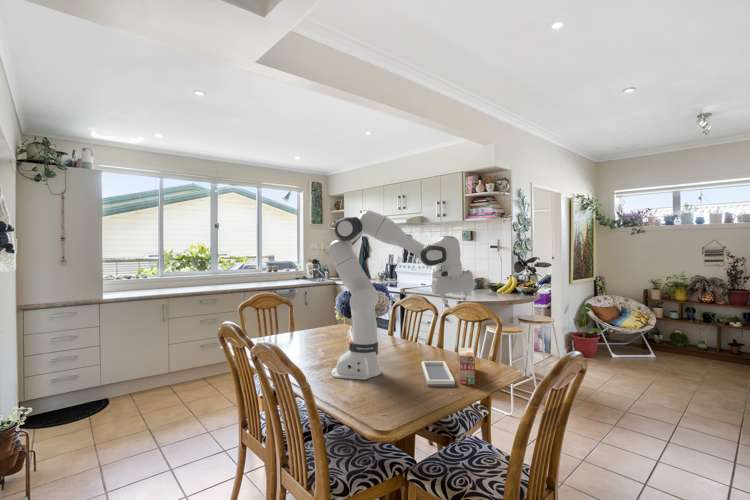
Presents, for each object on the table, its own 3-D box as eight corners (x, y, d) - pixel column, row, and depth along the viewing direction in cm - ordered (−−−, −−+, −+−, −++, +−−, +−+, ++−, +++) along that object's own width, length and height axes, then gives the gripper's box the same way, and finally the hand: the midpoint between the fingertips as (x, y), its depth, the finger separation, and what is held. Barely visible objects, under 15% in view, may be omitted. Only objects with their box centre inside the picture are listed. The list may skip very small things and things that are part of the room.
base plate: (427, 386, 151) (427, 380, 151) (421, 366, 177) (421, 361, 177) (454, 386, 151) (454, 380, 151) (444, 366, 177) (444, 361, 177)
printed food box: (458, 368, 175) (458, 342, 175) (472, 368, 173) (471, 342, 173) (459, 384, 154) (459, 354, 154) (475, 385, 152) (474, 355, 152)
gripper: (467, 269, 172) (470, 299, 171) (428, 273, 165) (431, 304, 164) (475, 269, 166) (478, 300, 165) (435, 273, 159) (438, 305, 159)
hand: (454, 302), depth 165 cm, fingers open, 8 cm apart
